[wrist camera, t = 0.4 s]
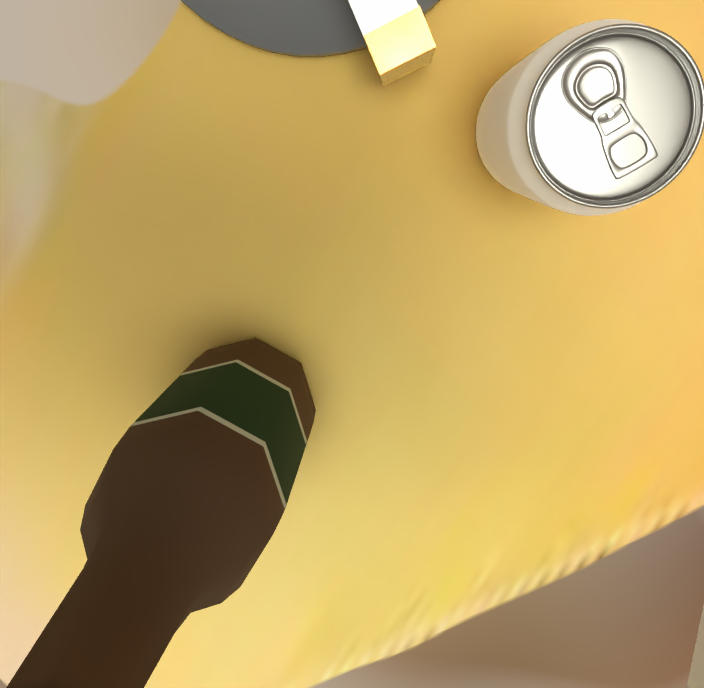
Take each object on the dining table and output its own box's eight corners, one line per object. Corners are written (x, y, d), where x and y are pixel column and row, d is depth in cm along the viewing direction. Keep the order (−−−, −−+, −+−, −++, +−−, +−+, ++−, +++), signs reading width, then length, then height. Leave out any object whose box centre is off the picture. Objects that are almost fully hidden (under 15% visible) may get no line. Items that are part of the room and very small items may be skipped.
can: (570, 30, 31) (668, -39, 19) (629, 150, 32) (754, 153, 21) (450, 107, 32) (475, 86, 21) (512, 219, 34) (568, 258, 22)
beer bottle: (159, 384, 38) (-218, 751, 15) (259, 306, 36) (6, 589, 13) (245, 481, 39) (22, 952, 16) (345, 411, 37) (253, 832, 14)
